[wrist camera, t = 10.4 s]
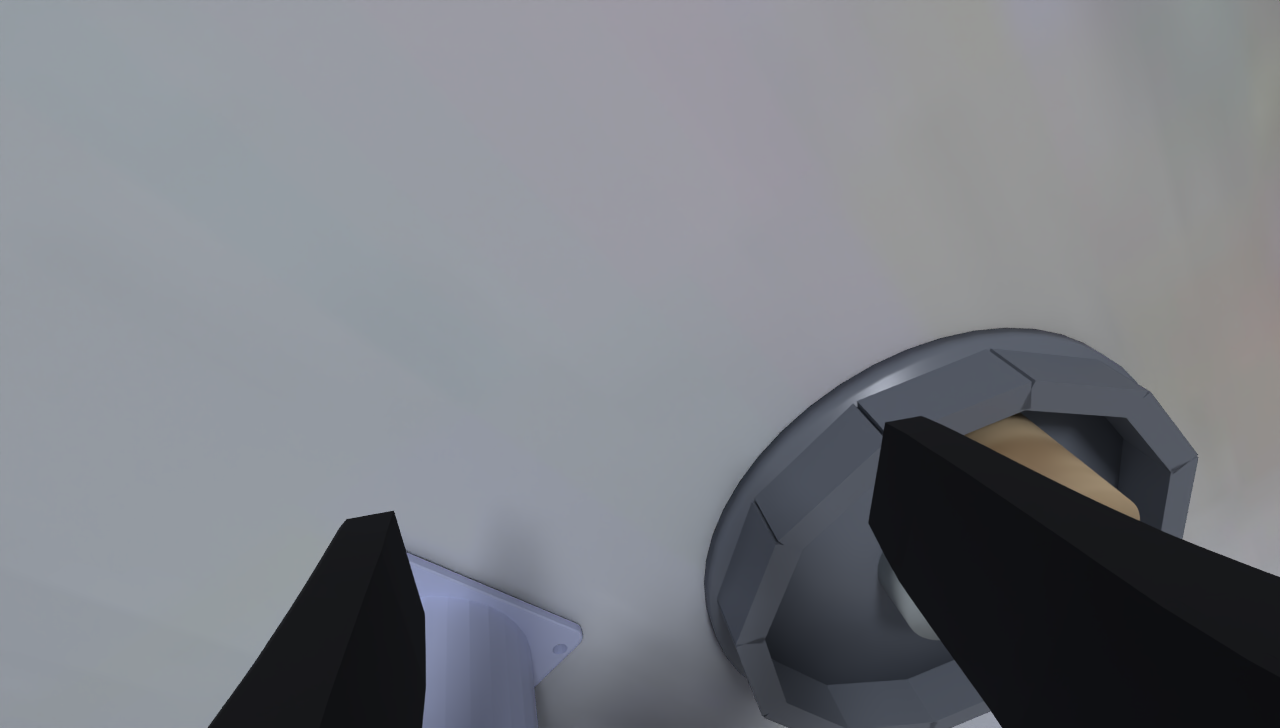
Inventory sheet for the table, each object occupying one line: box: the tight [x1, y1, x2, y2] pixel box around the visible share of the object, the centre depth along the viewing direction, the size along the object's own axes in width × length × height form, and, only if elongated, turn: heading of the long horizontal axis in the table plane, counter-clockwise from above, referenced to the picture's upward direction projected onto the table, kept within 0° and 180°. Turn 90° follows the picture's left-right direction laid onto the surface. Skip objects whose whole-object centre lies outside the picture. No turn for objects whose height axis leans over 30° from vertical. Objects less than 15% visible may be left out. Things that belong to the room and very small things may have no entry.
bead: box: [964, 413, 1140, 521], centre depth 21 cm, size 4×4×5 cm
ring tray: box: [704, 328, 1198, 728], centre depth 25 cm, size 18×18×3 cm
